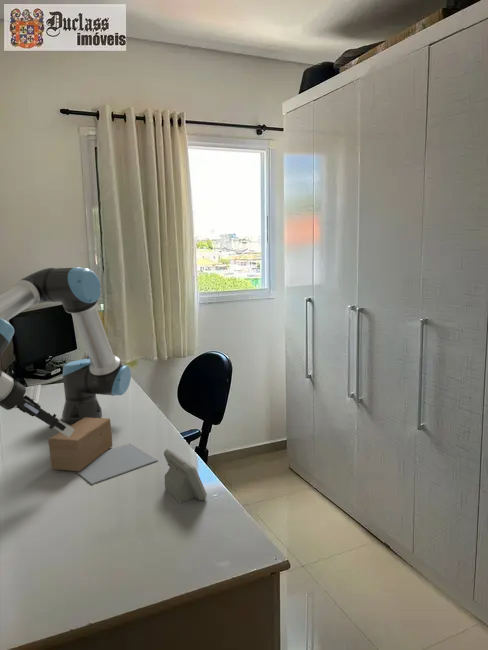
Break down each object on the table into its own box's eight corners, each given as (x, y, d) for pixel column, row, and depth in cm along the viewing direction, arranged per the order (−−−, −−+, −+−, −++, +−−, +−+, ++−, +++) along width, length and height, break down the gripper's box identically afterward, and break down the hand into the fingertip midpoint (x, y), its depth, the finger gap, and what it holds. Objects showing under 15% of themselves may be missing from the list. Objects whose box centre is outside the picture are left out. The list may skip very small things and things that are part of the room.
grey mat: (129, 444, 168) (129, 443, 168) (157, 461, 155) (157, 460, 155) (67, 464, 154) (66, 463, 154) (91, 484, 141) (91, 483, 141)
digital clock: (208, 502, 130) (207, 464, 128) (176, 510, 127) (174, 471, 125) (191, 476, 145) (189, 442, 143) (161, 482, 141) (159, 447, 140)
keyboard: (18, 390, 235) (17, 386, 235) (41, 387, 238) (40, 384, 238) (12, 409, 208) (12, 405, 208) (38, 406, 211) (38, 402, 211)
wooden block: (76, 440, 146) (110, 417, 165) (47, 438, 148) (84, 416, 167) (79, 471, 147) (113, 446, 166) (51, 469, 150) (87, 444, 169)
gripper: (-12, 397, 134) (54, 437, 148) (2, 408, 124) (71, 450, 138) (6, 374, 137) (70, 416, 150) (22, 384, 127) (88, 428, 141)
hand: (71, 432), depth 144 cm, fingers closed
